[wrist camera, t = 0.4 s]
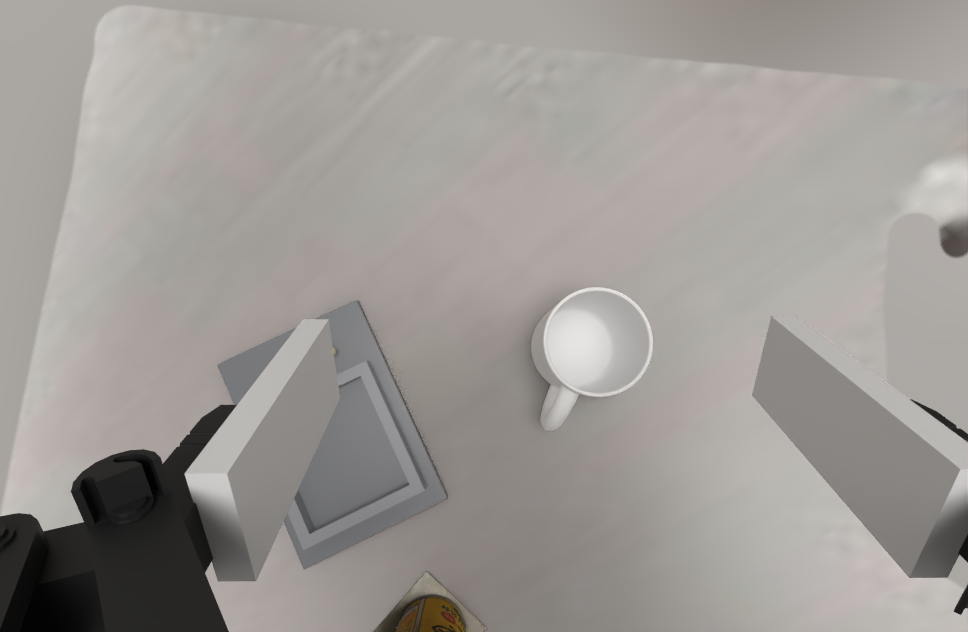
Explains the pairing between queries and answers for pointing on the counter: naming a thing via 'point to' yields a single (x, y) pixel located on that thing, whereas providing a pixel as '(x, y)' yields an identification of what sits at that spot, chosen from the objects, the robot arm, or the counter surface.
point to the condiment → (430, 611)
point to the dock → (351, 445)
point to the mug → (589, 349)
